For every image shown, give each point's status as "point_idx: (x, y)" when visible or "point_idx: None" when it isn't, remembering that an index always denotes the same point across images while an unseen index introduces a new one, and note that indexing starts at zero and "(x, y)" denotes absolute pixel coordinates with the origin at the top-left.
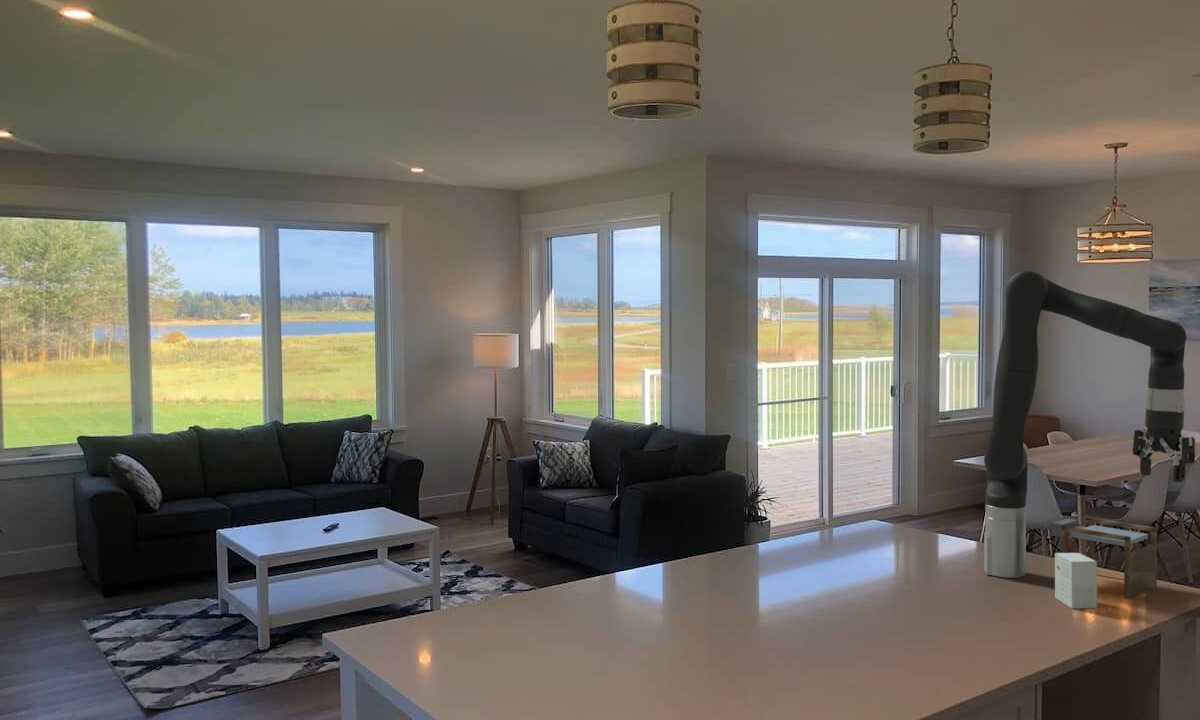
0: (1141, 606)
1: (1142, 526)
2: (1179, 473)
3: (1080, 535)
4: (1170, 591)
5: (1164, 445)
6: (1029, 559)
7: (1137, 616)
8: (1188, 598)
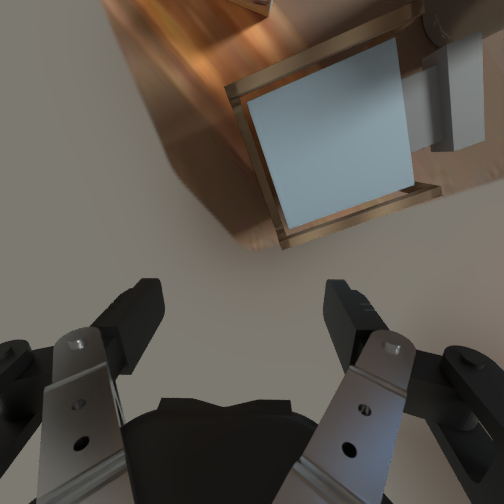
0: (195, 98)
1: (307, 232)
2: (114, 307)
3: (362, 53)
4: (247, 216)
5: (94, 470)
6: (493, 147)
7: (148, 35)
8: (211, 210)
